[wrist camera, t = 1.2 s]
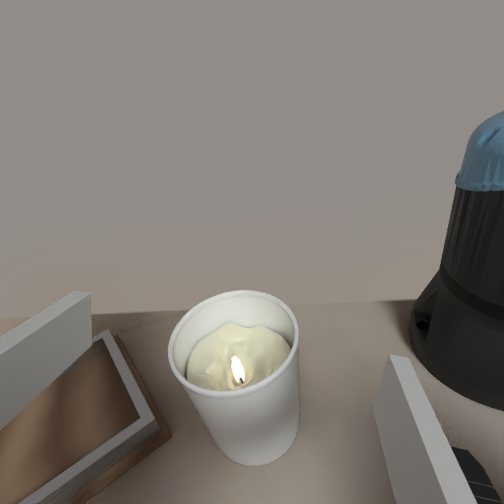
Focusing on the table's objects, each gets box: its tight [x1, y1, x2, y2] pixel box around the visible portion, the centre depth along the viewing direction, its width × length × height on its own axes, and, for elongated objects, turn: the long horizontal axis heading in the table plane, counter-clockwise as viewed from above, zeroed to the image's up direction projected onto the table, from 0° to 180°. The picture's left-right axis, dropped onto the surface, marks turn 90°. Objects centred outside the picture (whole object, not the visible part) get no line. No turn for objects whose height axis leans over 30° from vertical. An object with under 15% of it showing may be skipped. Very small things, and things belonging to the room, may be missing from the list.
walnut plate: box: [0, 335, 172, 504], centre depth 33 cm, size 16×16×1 cm
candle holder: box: [168, 290, 300, 466], centre depth 28 cm, size 10×10×12 cm
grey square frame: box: [18, 329, 162, 504], centre depth 32 cm, size 15×15×2 cm
